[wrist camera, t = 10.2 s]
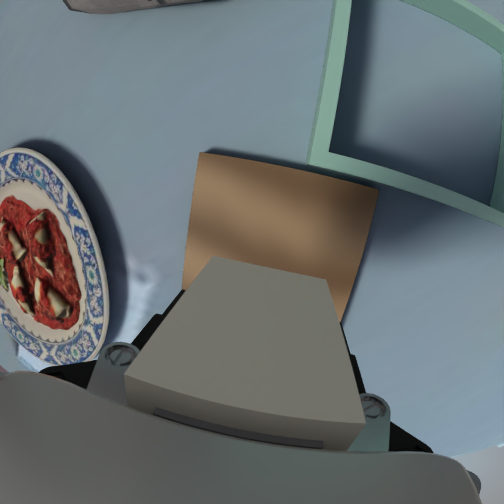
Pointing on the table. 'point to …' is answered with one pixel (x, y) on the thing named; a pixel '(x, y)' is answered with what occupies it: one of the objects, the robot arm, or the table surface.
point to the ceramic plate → (49, 263)
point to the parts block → (251, 360)
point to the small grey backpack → (118, 5)
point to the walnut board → (278, 221)
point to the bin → (500, 211)
